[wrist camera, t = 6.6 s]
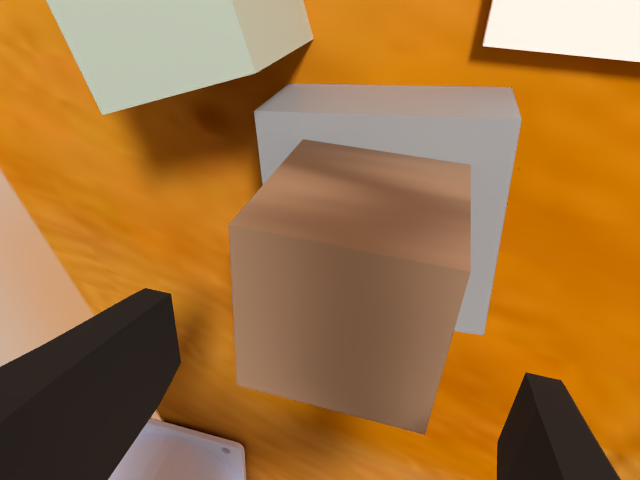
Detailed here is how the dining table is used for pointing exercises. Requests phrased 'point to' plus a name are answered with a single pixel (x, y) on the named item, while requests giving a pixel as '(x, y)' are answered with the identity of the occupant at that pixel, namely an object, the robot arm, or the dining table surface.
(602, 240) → the dining table surface
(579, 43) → the plaque
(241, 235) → the walnut block
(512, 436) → the robot arm
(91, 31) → the grey-green block
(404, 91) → the slate plinth
